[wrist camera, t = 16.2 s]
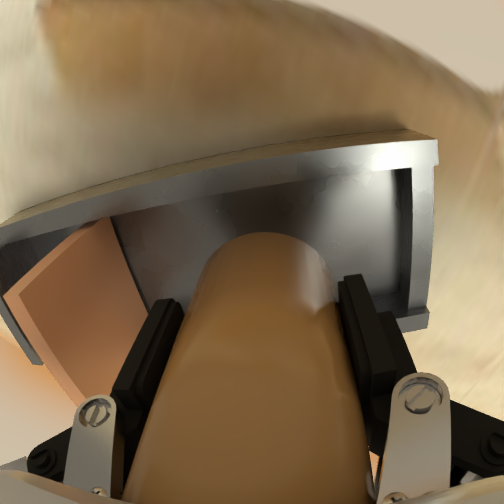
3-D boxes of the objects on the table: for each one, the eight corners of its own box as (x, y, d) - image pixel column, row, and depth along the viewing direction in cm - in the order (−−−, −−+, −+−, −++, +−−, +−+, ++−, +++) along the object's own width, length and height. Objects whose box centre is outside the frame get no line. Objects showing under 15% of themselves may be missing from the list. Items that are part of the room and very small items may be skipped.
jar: (331, 224, 10) (419, 582, 2) (334, 337, 13) (362, 589, 4) (184, 241, 11) (42, 542, 2) (215, 346, 13) (164, 583, 5)
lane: (409, 129, 13) (463, 149, 8) (409, 293, 17) (440, 355, 12) (20, 211, 16) (-33, 247, 12) (74, 327, 20) (40, 375, 16)
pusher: (108, 213, 14) (18, 294, 8) (150, 319, 17) (102, 419, 11) (92, 217, 15) (2, 295, 8) (135, 320, 17) (85, 416, 11)
